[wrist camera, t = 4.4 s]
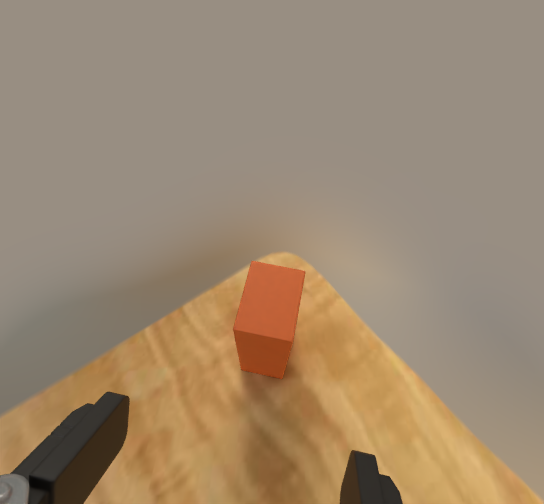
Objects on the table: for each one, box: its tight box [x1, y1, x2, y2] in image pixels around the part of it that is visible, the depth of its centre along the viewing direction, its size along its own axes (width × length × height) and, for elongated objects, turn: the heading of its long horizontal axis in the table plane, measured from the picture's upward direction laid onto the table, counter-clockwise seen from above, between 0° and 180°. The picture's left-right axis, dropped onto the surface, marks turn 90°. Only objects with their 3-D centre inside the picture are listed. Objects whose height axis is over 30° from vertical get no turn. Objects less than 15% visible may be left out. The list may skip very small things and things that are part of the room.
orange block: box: [233, 261, 305, 379], centre depth 22 cm, size 4×3×9 cm
